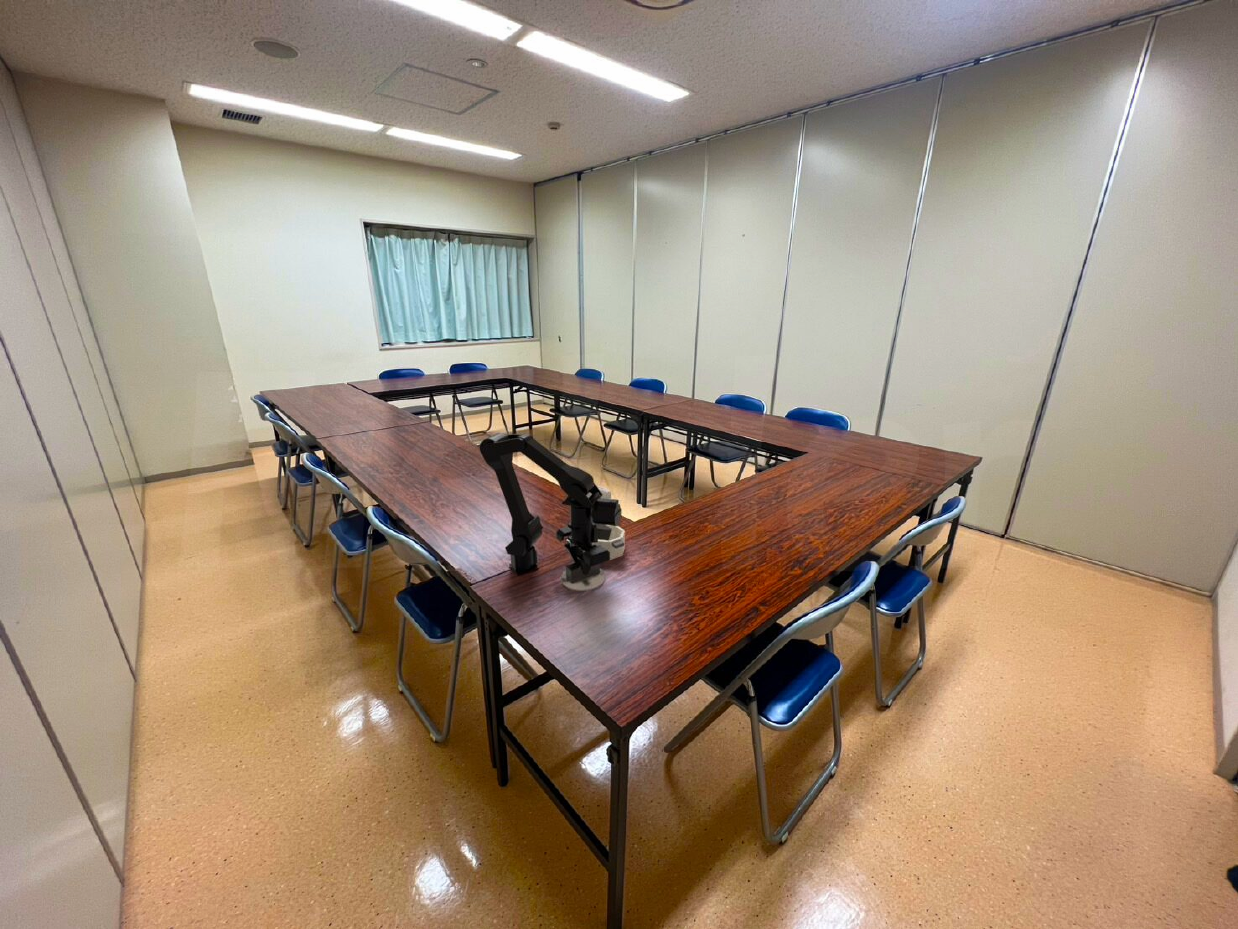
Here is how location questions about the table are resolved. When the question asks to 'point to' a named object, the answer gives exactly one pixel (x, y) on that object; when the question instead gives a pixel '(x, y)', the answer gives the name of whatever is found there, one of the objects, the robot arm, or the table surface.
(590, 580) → the cooker lid
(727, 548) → the table surface
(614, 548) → the cooker pot
